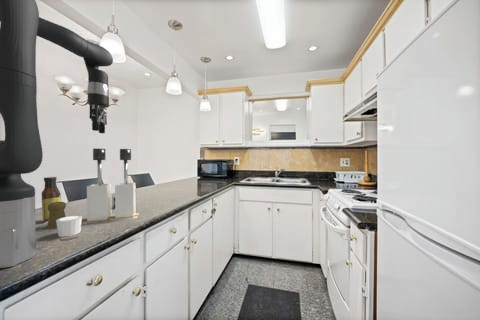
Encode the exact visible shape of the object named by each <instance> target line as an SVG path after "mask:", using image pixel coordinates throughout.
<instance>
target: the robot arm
mask: <svg viewBox="0 0 480 320" xmlns="http://www.w3.org/2000/svg"><path fill="white" fill-rule="evenodd" d="M37 37H39V38H41V39H44V40H46V41H47V42H48V41H49V42H50V43H52V44H55V45H56V46H59V47H61V48H63V49H65V50H67V51H68V52H71V53H72V54H74V55H76V56H78V57H80V58H83V61H84V65H85V67H86V70H87V75H88V76H87V78H88V80H87V82H88V83H87V104H88V105H89V117H88V118H89V119H90V120H91V127H92V128H91V129H92V131H95V132H96V131H97V132H98V133H99V134H105V133H106V126H107V124H108V123H107V114H108V113H107V111H105V108H106V109H108V108H109V107H110V90H109V75H108V73H107V72H105V70H104V71H103V70H101V69H99V67H109V66H112V64H113V63H114V58H113V56H112V54H111V52H110V51H109V50H108V49H107V48H105V47H103V46H101V45H98V44H96V43H94V42H92V41H89V40H86V39H85V38H84V37H82V36H81V35H79V34H78V33H76V32H75V31H73V30H71V29H69V28H67V27H65V26H62V25H60V24H57V23H55V22H53V21H49V20H48V19H45V18H42V17H40V11H39V8H38V3H37V2H36V0H0V115H1V118H2V120H3V125H4V140H0V269H3V268H4V269H5V268H11V267H15V266H17V265H18V264H21V263H22V262H26V261H28V260H30V259H33V257H35V256H36V255H37V240H36V239H37V238H36V237H37V235H36V234H37V233H36V231H37V229H36V228H37V227H36V225H37V224H36V189H35V187H34V186H33V185H31V184H29V183H27V182H26V181H24V180H23V178H22V175H23V174H24V175H25V174H30V173H33V172H35V171H37V170H38V169H39V168H40V166H41V164H42V161H43V159H44V158H43V154H44V153H43V146H42V139H41V134H40V130H39V121H38V105H37V93H38V91H37V89H38V87H37V85H38V84H37V71H36V67H37V66H36V59H37V58H36V55H37V54H36V53H37Z"/></svg>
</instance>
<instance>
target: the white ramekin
mask: <svg viewBox="0 0 480 320" xmlns="http://www.w3.org/2000/svg"><path fill="white" fill-rule="evenodd" d="M82 221H83V216H82V215H68V216H65V217H63V218H60V219H57V220H56V223H57V228H56V229H57V235H58V237H59V238H60V239H58V240H59V242H64V241H65V242H66V241H72V240H75V239H77V238H79V236H75V237H72V236H74V235H78V234H79V233H81V230H82V229H81V228H82V223H83V222H82ZM70 236H71V237H70ZM61 237H63V238H61ZM64 237H66V238H64ZM67 237H68V238H67Z"/></svg>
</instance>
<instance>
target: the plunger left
mask: <svg viewBox="0 0 480 320" xmlns="http://www.w3.org/2000/svg"><path fill="white" fill-rule="evenodd" d="M106 158H107V157H106V148H93V149H92V160H93V161H96V163H97V165H96V166H97V169H96V170H97V184H98V186H102V184H103V183H102V178H103V177H102V161H106Z"/></svg>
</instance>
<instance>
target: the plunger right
mask: <svg viewBox="0 0 480 320" xmlns="http://www.w3.org/2000/svg"><path fill="white" fill-rule="evenodd" d="M119 161H123V183H124V185H127V184H128V183H129V182H128V181H129V180H128V161H132V149H130V148H120V149H119Z"/></svg>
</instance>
